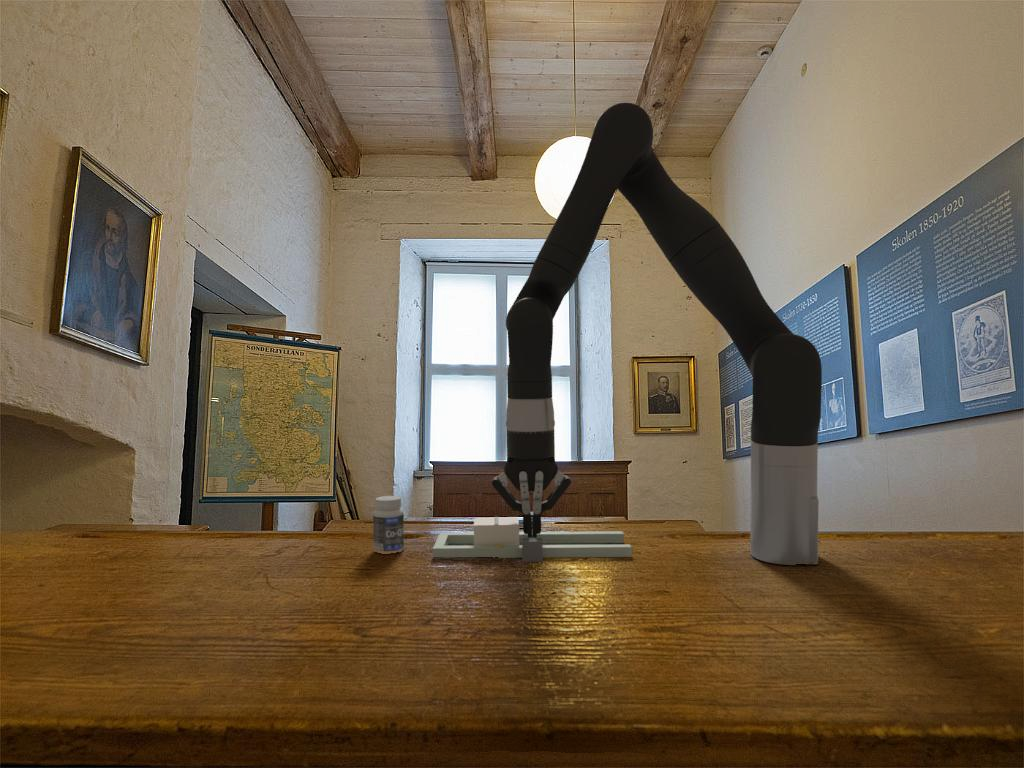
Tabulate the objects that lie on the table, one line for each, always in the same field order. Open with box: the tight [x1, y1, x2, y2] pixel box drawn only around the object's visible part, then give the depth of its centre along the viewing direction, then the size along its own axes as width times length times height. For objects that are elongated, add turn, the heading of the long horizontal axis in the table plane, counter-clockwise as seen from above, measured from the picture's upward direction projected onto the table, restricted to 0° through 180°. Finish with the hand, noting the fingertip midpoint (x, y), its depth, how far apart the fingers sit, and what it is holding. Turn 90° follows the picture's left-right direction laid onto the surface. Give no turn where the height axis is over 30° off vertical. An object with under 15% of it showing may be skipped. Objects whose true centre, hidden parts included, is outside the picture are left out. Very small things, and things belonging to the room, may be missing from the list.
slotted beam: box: [432, 530, 633, 563], centre depth 106 cm, size 30×11×3 cm, turn 89°
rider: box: [473, 516, 520, 545], centre depth 107 cm, size 7×5×5 cm
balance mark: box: [495, 544, 503, 548], centre depth 107 cm, size 1×9×1 cm, turn 179°
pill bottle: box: [372, 495, 405, 552], centre depth 107 cm, size 5×5×8 cm
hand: (532, 536), depth 107 cm, fingers closed
